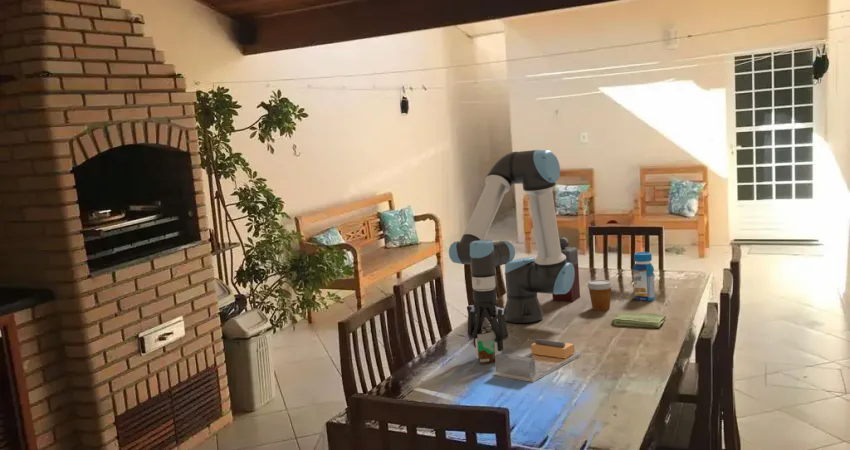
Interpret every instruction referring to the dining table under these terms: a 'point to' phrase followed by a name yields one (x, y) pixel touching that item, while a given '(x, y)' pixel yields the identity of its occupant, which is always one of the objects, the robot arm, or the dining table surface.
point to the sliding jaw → (552, 348)
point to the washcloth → (638, 320)
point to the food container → (486, 345)
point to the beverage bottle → (643, 277)
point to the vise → (529, 365)
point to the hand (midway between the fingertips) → (489, 358)
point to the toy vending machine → (573, 259)
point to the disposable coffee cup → (600, 294)
